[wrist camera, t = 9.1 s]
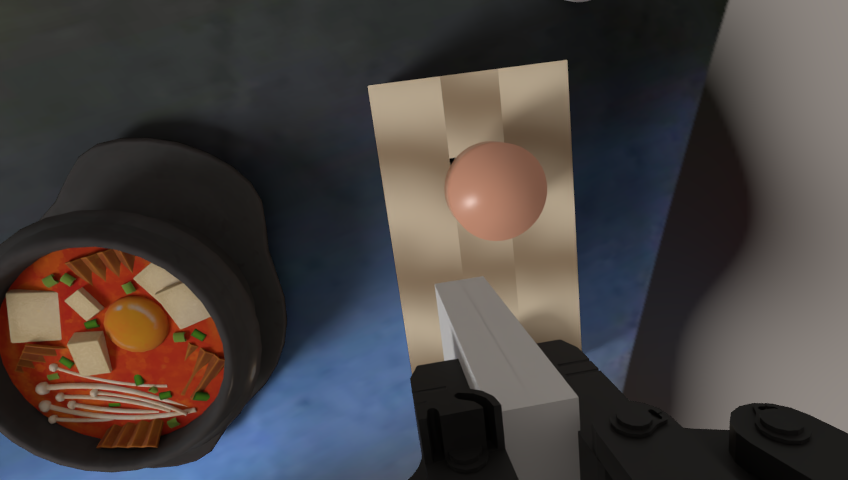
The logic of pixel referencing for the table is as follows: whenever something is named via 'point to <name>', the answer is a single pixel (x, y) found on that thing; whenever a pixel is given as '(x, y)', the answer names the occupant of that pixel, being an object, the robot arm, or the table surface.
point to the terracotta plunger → (495, 190)
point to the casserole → (137, 310)
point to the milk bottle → (577, 0)
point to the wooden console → (442, 233)
